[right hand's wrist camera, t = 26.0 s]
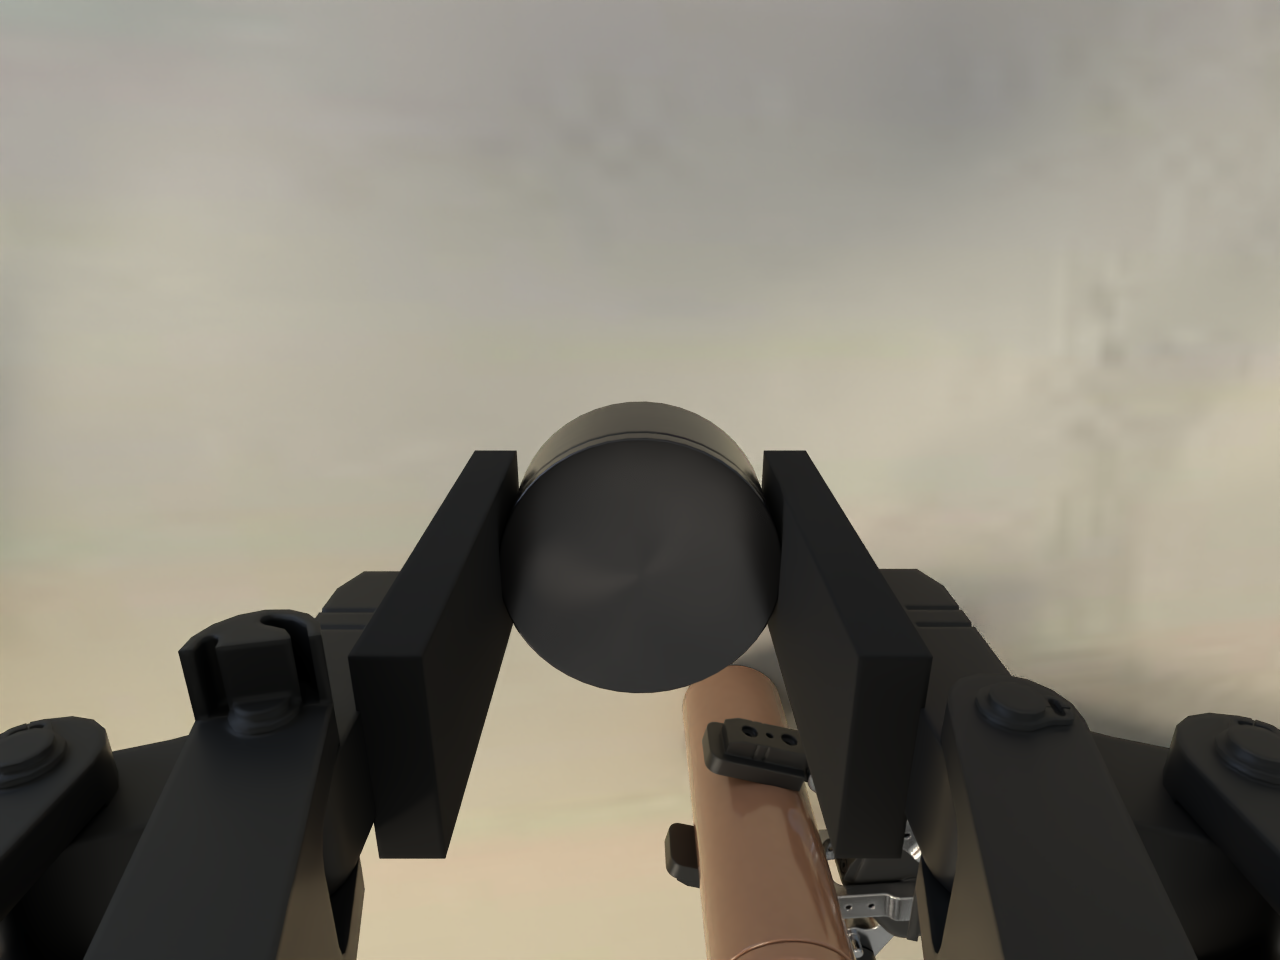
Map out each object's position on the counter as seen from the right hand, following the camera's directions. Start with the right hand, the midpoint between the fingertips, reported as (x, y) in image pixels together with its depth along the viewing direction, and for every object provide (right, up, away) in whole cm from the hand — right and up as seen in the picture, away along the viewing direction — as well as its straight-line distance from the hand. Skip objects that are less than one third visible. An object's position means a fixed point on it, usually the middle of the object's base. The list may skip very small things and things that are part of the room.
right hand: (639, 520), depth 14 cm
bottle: (+4, -10, +23) cm, 25 cm away
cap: (0, -1, -2) cm, 2 cm away
